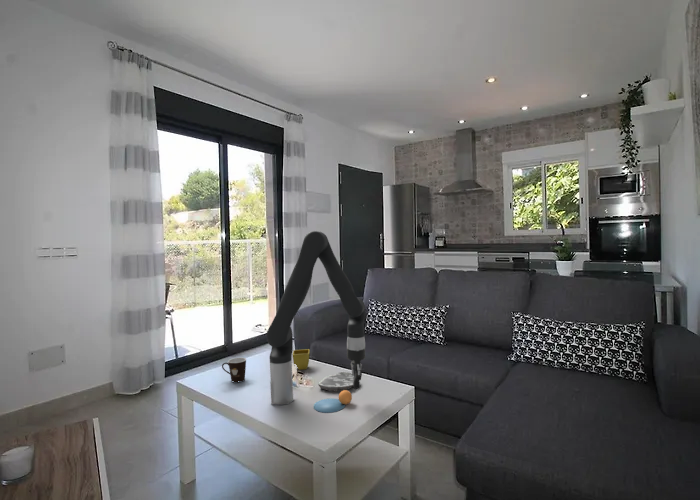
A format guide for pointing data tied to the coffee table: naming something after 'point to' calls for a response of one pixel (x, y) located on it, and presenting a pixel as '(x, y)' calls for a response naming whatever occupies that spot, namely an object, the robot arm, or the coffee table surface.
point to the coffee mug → (236, 369)
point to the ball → (345, 397)
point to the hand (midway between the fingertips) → (356, 388)
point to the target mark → (328, 405)
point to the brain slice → (337, 382)
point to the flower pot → (301, 358)
